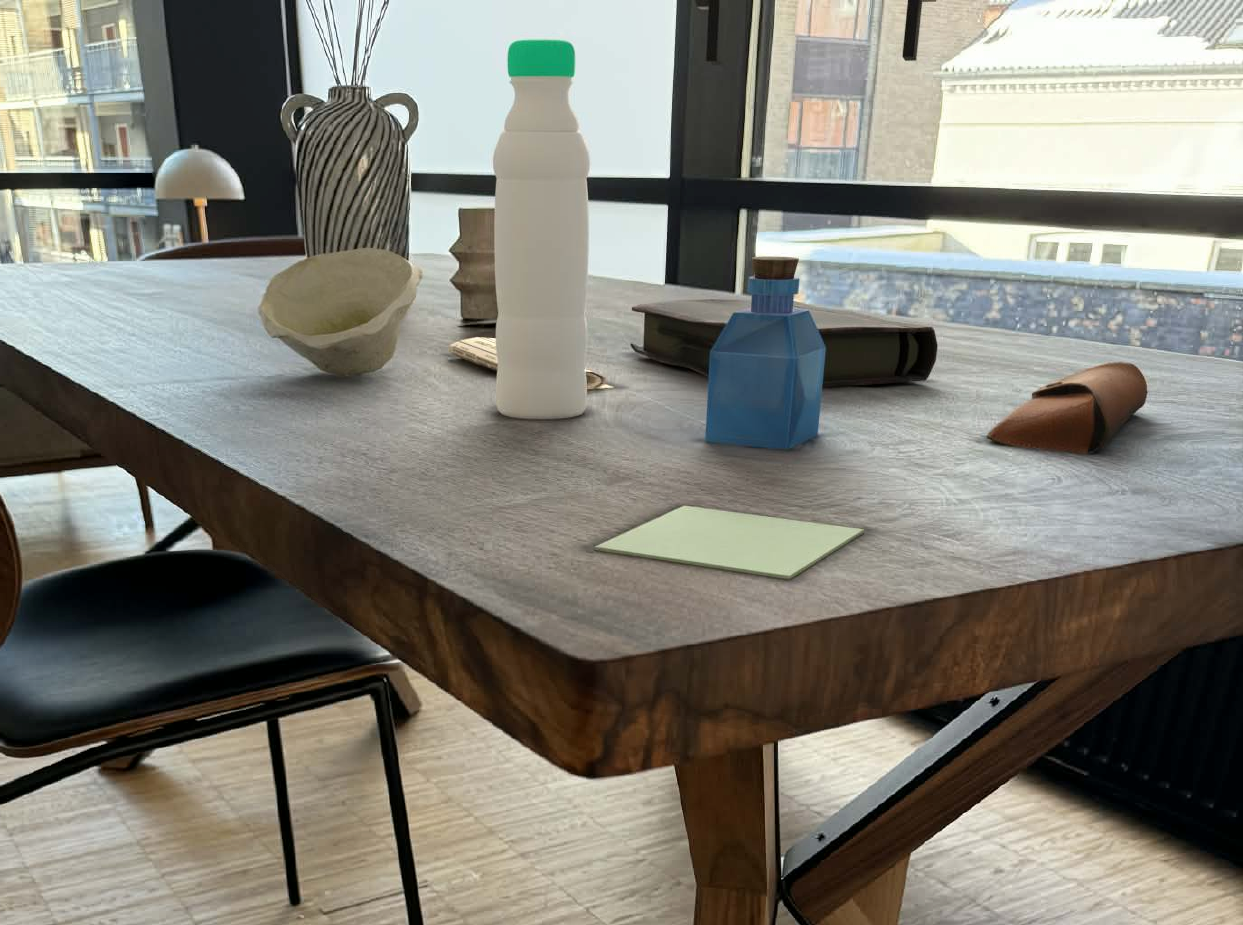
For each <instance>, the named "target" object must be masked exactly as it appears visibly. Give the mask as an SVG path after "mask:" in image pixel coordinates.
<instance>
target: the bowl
mask: <svg viewBox="0 0 1243 925" xmlns="http://www.w3.org/2000/svg"><path fill="white" fill-rule="evenodd" d="M423 276H424V274H423V270H422V269H421V268H419V267H416V266H415V265H414V264H412V263H411V262H410V261H409V260H407V259H406V258H404V257H403V256H401V255H399V254H397V253H395V252H392V251H390V250H387V249H380V248H375V247H359V248H355V249H348V250H342V251H333V252H328V253H318V254H316V255H312V256H309V257H308V256H307V257H306V258H305V259H301V260H299V261H297V262H295V263H293V264H292V265H290V266H288V267H287V268H286V269H284V270H282V271H280V272H278V273H276V274H274V276H272V278H271V279H270V280H269V283H268V285H267V286H266V289H265V292H264V293H263V295H262V300H261V302H260V304H259V306H258V307H257V313H258V315H259V317H260V319H261V323H262V326H263V327H264V330H265V331H266V333H267V334H268V336H269V337H270V338H272V339H276V338H277V339H278V340H280V341H281V342H282V343H283V344H285V345H286V346H287V347H288V348H290V350H292V351H294V352H295V353H296V354H297V355H299V356H301V358H304V359H306V360H307V361H308V362H310V363H311V364H313V365H314V366H315V367H317V368H318V369H319V370H320V371H322V372H324V373H327V374H330V375H337V376H350V377H351V376H354V377H355V376H360V375H363V374H369V373H374V372H376V371H378V370H381V369H382V368H383V367H384V366H385V365H386V364H387V363H388V362H389V361H391V360H392V358H393V357H394V355H395V351H396V349H397V343H398V339H399V332H400V327H401V325H402V322H403V320H404V318H405V317H406V314H407V312H408V311H409V309H410V308H411V306H412V305H413V304H414V302H415V300H416V298H417V293H418V286H419V284H420V283H421V281H422V279H423Z"/></svg>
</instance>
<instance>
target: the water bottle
mask: <svg viewBox="0 0 1243 925" xmlns="http://www.w3.org/2000/svg"><path fill="white" fill-rule="evenodd" d="M507 51H508V52H507V58H506V59H507V61H506V62H507V73H508V77H510V80H509V83H510V84H511V86H512V88H513V90H514V100H513V102H512V104H511V105H512V106H511V108H510V109H509V111H508V112H507V115H506V117H505V120H504V126H503V131H502V132H500V134H499V135H500V136H499V137H498V140H497V143H496V145H495V148H494V151H493V157H492V168H493V169H492V170H493V173H494V176H495V178H496V179H495V180H496V181H495V193H494V194H495V195H494V214H493V215H494V217H493V218H494V220H493V222H494V223H493V226H494V227H493V229H494V230H493V235H494V236H493V239H494V240H493V241H494V242H493V245H494V247H493V250H494V279H495V280H494V281H495V295H496V296H495V297H496V305H497V313H498V314H497V318H496V324H495V339H496V351H497V358H498V370H497V372H496V384H495V404H496V410H497V411H498V412H499V414H501V415H503V416H506V417H509V418H513V419H515V418H516V419H523V420H559V419H561V420H562V419H569V418H575V417H579V416H581V415H582V414H583V413H584V412H585V411H586V408H587V401H588V400H587V399H588V394H587V393H588V389H587V383H586V371H585V369H586V356H587V350H588V326H587V319H586V306H587V297H588V296H587V295H588V282H589V281H588V280H589V279H588V278H589V277H588V276H589V254H590V253H589V252H590V251H589V249H590V248H589V244H590V242H589V241H590V240H589V239H590V225H589V224H590V218H589V216H590V212H589V192H588V181H587V178H588V177H589V174H590V169H591V156H590V151H589V148H588V145H587V143H586V140H585V137H584V135H583V132H581V131H579V130H580V125H579V124H580V123H579V120H578V117H577V115H576V113H575V111H574V110H573V107H572V105H571V102H570V99H569V98H570V97H569V93H570V92H569V91H570V88H571V86H572V85H573V84H574V80H573V78H574V77H575V73H576V52H575V47H574V46H573V44H572V43H571V42H570V41H567V40H562V39H545V38H544V39H542V38H541V39H540V38H539V39H519V40H515V41H513V42H512V43H511V44H509V47H508V49H507Z"/></svg>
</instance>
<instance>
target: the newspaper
mask: <svg viewBox="0 0 1243 925" xmlns="http://www.w3.org/2000/svg"><path fill="white" fill-rule="evenodd" d="M448 352H449V353H450V354H451V355H453V356H455V357H457V358H460V359H462V360H465V361H468V362H470V363H473V364H475V365H478V366H480V367H483V368H485V369H487V370H491V371H493V372H496V373H497V370H498V358H497V351H496V337H495V338H493V337H480V336H475V337H471V338H465V339H461V340H458V341H456V342H453V343H451V344H449V346H448ZM585 371H586V383H587V390H594V389H600V390H603V389H615V388H616V387H614V386H612V385H609V384H606V383H607V382H606V381H607V377H606V376H603V375H601V374H599V373H596V372H594V371H592V370H589V369H586V368H585Z"/></svg>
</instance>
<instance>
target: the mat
mask: <svg viewBox="0 0 1243 925" xmlns="http://www.w3.org/2000/svg"><path fill="white" fill-rule="evenodd" d="M864 532H865V530H864V529H863V528H857V527H848V526H842V525H833V524H824V523H819V522H812V521H811V522H810V521H802V520H796V519H789V518H781V517H775V516H774V517H773V516H765V515H759V514H758V515H757V514H751V513H744V512H736V511H730V510H721V509H714V508H706V507H699V506H691V505H682V506H680V507H678V508H675V509H674V510H672V511H669V512H667V513H665V514H662V515H661V516H658V517H656V518H654V519H652V520H649V521H647V522H645V523H643V524H640V525H639V526H636V527H634V528H632V529H630V530H628V531H625V532H623V533H622V534H619V535H617V536H615V537H613V538H610V539H608V540H606V541H604V542H602V543H599V544H597V545H595V546H594V550H595V551H601V552H602V551H603V552H607V553H614V554H621V555H625V556H626V555H628V556H634V557H640V558H647V559H655V560H661V561H666V562H672V563H673V562H674V563H680V564H686V565H694V566H698V567H699V566H700V567H706V568H712V569H720V570H726V571H732V572H738V573H744V574H752V575H758V576H765V577H772V578H778V579H784V580H791V579H792V578H794V577H796V576H797V575H799V574H800V573H802V572H804V571H805V570H807V569H808V568H810V567H811V566H813V565H814V564H816V563H818V562H819V561H821V560H822V559H824V558H826V557H827V556H829V555H830V554H832V553H834V552H835V551H836V550H838V549H840V548H841V547H843V546H844V545H846V544H848V543H849V542H851V541H852V540H854V539H855V538H857V537H859V536H860V535H862V534H863V533H864Z"/></svg>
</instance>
